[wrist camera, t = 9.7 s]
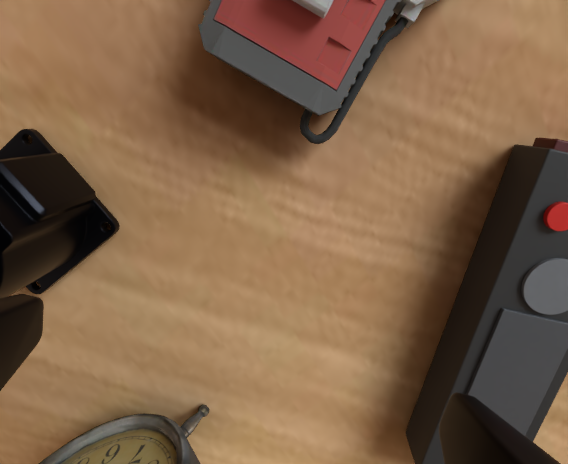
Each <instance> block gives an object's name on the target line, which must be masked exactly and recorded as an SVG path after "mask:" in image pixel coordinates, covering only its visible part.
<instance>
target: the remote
mask: <svg viewBox="0 0 568 464" xmlns="http://www.w3.org/2000/svg"><path fill="white" fill-rule="evenodd" d="M567 372H568V141H563V140H559V139H547V138H536V139H535V141H534V144H533V146H524V145H514V147H513V150H512V152H511V155H510V158H509V160H508V163H507V166H506V168H505V171H504V174H503V176H502V179H501V182H500V184H499V187H498V189H497V192H496V195H495V197H494V200H493V203H492V205H491V208H490V211H489V213H488V216H487V219H486V221H485V224H484V226H483V229H482V232H481V234H480V237H479V240H478V242H477V245H476V248H475V250H474V253H473V255H472V258H471V261H470V263H469V266H468V269H467V271H466V274H465V277H464V279H463V282H462V285H461V287H460V290H459V292H458V295H457V298H456V300H455V303H454V306H453V308H452V311H451V314H450V316H449V319H448V322H447V324H446V327H445V329H444V332H443V335H442V337H441V340H440V343H439V345H438V348H437V351H436V353H435V356H434V359H433V361H432V364H431V366H430V369H429V372H428V374H427V377H426V380H425V382H424V385H423V388H422V390H421V393H420V395H419V398H418V401H417V403H416V406H415V409H414V411H413V414H412V417H411V419H410V422H409V425H408V427H407V430H406V436H407V439H408V443H409V446H410V449H411V452H412V456H413V459H414V462H415V464H445V462H444V457H443V452H442V447H441V442H440V436H439V425H440V421H441V418H442V416H443V414H444V411H445V409H446V406H447V404H448V401H449V399H450V397H451V395H452V394H454V393H462V394H466V395H471V396H474V397H475V398H477V399H478V400H479V401H481V402H482V403H483V404H485V405H486V406H487V407H488V408H490V409H491V410H492V411H493V412H495V413H496V414H497V415H499V416H500V417H501V418H502V419H504V420H505V421H506V422H508V423H509V424H510V425H511V426H513V427H514V428H515V429H517V430H518V431H519V432H520V433H522V434H523V435H524V436H526V437H527V438H528V439H529V440H531V441H532V442H533V440H534V438H535V436H536V434H537V432H538V430H539V428H540V426H541V424H542V422H543V420H544V418H545V416H546V414H547V412H548V410H549V408H550V406H551V404H552V402H553V400H554V398H555V396H556V394H557V392H558V390H559V388H560V386H561V384H562V382H563V380H564V378H565V376H566V374H567Z"/></svg>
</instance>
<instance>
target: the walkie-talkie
mask: <svg viewBox="0 0 568 464" xmlns="http://www.w3.org/2000/svg"><path fill="white" fill-rule="evenodd" d="M209 1H210V2H211V3H210V5H209V7H208V10H205V11H204V14H203V15H204V16H205V17H204V19H203V21H202V24H199V25H198V26H199V30H200V34H201V38H202V42H203V46H204V49H205V50H206V51H208V52H209V53H210V54H212V55H213V56H215V57H216V58H218V59H219V60H221V61H223V62H225V63H226V64H228V65H230V66H232V67H233V68H235V69H237V70H239V71H240V72H242V73H244V74H246V75H248V76H249V77H251V78H253V79H255V80H256V81H258V82H260V83H262V84H263V85H265V86H267V87H269V88H270V89H272V90H274V91H276V92H277V93H279V94H281V95H283V96H284V97H286V98H288V99H290V100H291V101H293V102H295V103H297V104H299V105H300V106H302V107H304V108H305V110H304V113H303V115H302V117H301V121H300V129H301V133H302V135H303V136H304V137H305V138H306V139H307V140H308V141H309V142H311V143H315V144H320V143H324V142H325V141H327V140H329V139H330V138H331V137H332V136H333V135H334V134H335V133H336V131H337V130H338V128H339V126H340V124H341V122H342V121H343V119H344V117H345V115H346V114H347V112H348V110H349V108H350V106H351V105H352V103H353V101H354V99H355V98H356V96H357V94H358V92H359V90H360V89H361V87H362V85H363V83H364V81H365V80H366V78H367V76H368V74H369V73H370V71H371V69H372V67H373V66H374V64H375V62H376V61H377V59H378V57H379V56H380V54H381V52H382V51H383V49H384V47H385V46H386V44H387V43H388V42H389V41H390V40H392V39H393V38H394V37H396V36H397V35H398V34H400V33H401V31H402V30H403V29H404V28H405V27H406V28H408V27H410V26H411V25H412V24H413V23H414V22H415V20H416V18H417V17H418V15H419V13H420V11H421V10H422V9H423V8H425V7H427V6H429V5H431V4H433V3H435V2H437V1H439V0H209ZM394 13H396V14H398V16H397V17H396V19H395V21H396V24H395V25H394V26H393V27H392V28H390V29H389V30H387V31H386V32H385V33H384V34H383V35H382V36H381V37H380V39H379V40H378V37H379V36H380V35H381V34H382V32H383V31H384V30H385V28H386V26H385V25H386V23H387V22H388V21H389V20H390V18H391V17H392V15H393V14H394ZM370 51H371V52H370ZM362 65H363V66H362ZM356 76H357V77H356ZM355 77H356V79H355ZM350 87H351V88H350ZM349 88H350V90H349ZM348 90H349V91H348ZM343 99H344V100H343ZM342 101H343V102H342ZM341 102H342V104H341ZM336 109H339V110H338V111H337V113H336V115H335V117H334V119H333V120H332V122H331V124H330V125H329V127H328V128H327V129H326V131H324V132H323V133H322V134H319V135H315V134H313V133H312V132H311V131H310V130H309V127H308V125H309V120H310V117H311V115H312V113H314V114H316V115H318V116H319V115H322V114H325V113H328V112H331V111H333V110H336Z"/></svg>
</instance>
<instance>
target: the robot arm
mask: <svg viewBox="0 0 568 464" xmlns="http://www.w3.org/2000/svg"><path fill="white" fill-rule="evenodd" d="M29 135H30V136H31V138H32V144H31V143H30V142H29V141H28V136H29ZM105 223H108V224H110V226H111V230H108V229H107V228H106V226H105ZM118 230H119V223H118V221H117V220H116V218H115V217H114V216H113V215H112V214H111V213H110V212H109V211H108V209H107V208H106V207H105V206H104V205H103V204H102V203H101V202H100V200H99V199H98V198H97V197H96V196H95V191H94V190H93V189H92V188H91V187H90V186H89V184H88V183H87V182H86V181H85V180H84V179H83V178H82V177H81V175H80V174H79V173H78V172H77V171H76V170H75V169H74V168H73V166H72V165H71V164H70V163H69V162H68V161H67V160H66V159H65V157H64V156H63V155H62V154H59V153H57V152H56V151H55V150H54V149H53V148H52V146H51V145H50V144H49V143H48V142H47V141H46V140H45V138H44V137H43V136H42V135H41V134H40V133H39V132H38V131H37V130H34V129H23V130H21V131H20V132H19V133H17V134H16V135H15V136H14V137H13V138H12V139H11V140H10V141H9V142H8V143H7V144H6V145H5V146H4V147H3V148H2V149H1V150H0V391H1V389H2V388H3V387H4V386H5V384H6V383H7V382H8V381H9V379H10V378H11V377H12V375H13V374H14V373H15V372H16V370H17V369H18V368H19V367H20V365H21V364H22V363H23V362H24V360H25V359H26V358H27V357H28V355H29V354H30V353H31V351H32V350H33V349H34V348H35V346H36V345H37V344H38V342H39V340H40V338H41V336H42V331H43V308H44V306H43V301H42V300H41V299H40V298H38V297H34V296H29V295H25V294H19V295H14V296H9V295H11V294H13V293H15V292H16V291H18V290H20V289H21V288H23V287H25V286H26V287H27V288H28V289H29V290H30V291H31V292H32V293H35V294H41V293H43V292H44V291H46V290H47V289H49V288H50V287H51V286H52V285H53V284H55V283H56V282H57V281H58V280H60V279H61V278H62V277H63V276H64V275H66V274H67V273H68V272H69V271H70V270H72V269H73V268H74V267H75V266H76V265H78V264H79V263H80V262H81V261H83V260H84V259H85V258H86V257H87V256H89V255H90V254H91V253H92V252H93V251H95V250H96V249H97V248H98V247H100V246H101V245H102V244H103V243H104V242H106V241H107V240H108V239H109V238H110V237H112V236H113V235H114V234H115V233H116V232H117V231H118ZM36 282H38V283H39V284H40V287H39V286H38V285H37V283H36ZM8 296H9V297H8ZM439 436H440V442H441V447H442V452H443V457H444V462H445V464H560V463H559V462H558V461H556V460H555V459H554V458H552V457H551V456H550V455H549V454H547V453H546V452H545V451H543V450H542V449H541V448H540V447H538V446H537V445H536V444H534V443H533V442H532V441H531V440H529V439H528V438H527V437H526V436H524V435H523V434H522V433H520V432H519V431H518V430H517V429H515V428H514V427H513V426H511V425H510V424H509V423H508V422H506V421H505V420H504V419H502V418H501V417H500V416H499V415H497V414H496V413H495V412H493V411H492V410H491V409H490V408H488V407H487V406H486V405H485V404H483V403H482V402H481V401H479V400H478V399H477V398H475V397H474V396H471V395H466V394H462V393H454V394H452V395H451V397H450V399H449V401H448V404H447V406H446V409H445V411H444V414H443V416H442V418H441V421H440V425H439Z"/></svg>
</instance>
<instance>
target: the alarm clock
mask: <svg viewBox="0 0 568 464" xmlns="http://www.w3.org/2000/svg"><path fill="white" fill-rule="evenodd" d="M208 413H209V408H208V407H207V406H206V405H202V406H200V407H199V409H198V413H196V414H195V415H193V416H191V417H190V418H189V419H187V420H186V421H185V422H184V423H183V424H182V426H181V427H180V426H179V425H178V424H177V423H175V422H174V421H173V420H171V419H169V418H167V417H165V416H161V415H156V414H136V415H130V416H125V417H122V418H118V419H115V420H112V421H109V422H106V423H104V424H102V425H99V426H97V427H95V428H93V429H91V430H89V431H87V432H86V433H84V434H82V435H80V436H78V437H76V438H75V439H73V440H71V441H70V442H69V443H67V444H66V445H64V446H62V447H61V448H60V449H58V450H57V451H55V452H54V453H52V454H51V455H50V456H48V457H47V458H45V459H44V460H43V461H42V462H40V463H39V464H200V462H199V460H198V458H197V457H196V455H195V453H194V451H193V449H192V447H191V446H190V444H189V442H188V440H187V437H188V436H189V435H190V434H191V433H192V432H193V430H194V429H195V427H196V426H197V424H198V423H199V421H200V420H201V418H202V417H205V416H207V414H208Z"/></svg>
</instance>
